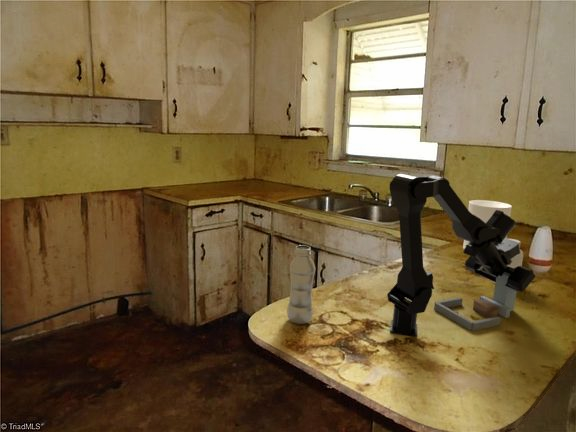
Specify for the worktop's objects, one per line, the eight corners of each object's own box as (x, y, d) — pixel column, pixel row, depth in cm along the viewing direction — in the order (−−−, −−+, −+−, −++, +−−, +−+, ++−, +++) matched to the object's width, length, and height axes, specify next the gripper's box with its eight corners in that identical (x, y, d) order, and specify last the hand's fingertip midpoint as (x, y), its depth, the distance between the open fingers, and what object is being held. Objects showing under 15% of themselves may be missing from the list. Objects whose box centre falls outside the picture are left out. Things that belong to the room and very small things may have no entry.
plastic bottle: (297, 313, 114) (300, 241, 110) (317, 321, 110) (321, 247, 106) (281, 321, 109) (284, 247, 105) (302, 330, 105) (306, 253, 101)
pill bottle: (496, 277, 147) (503, 235, 144) (521, 284, 142) (529, 241, 138) (487, 283, 142) (494, 239, 138) (513, 290, 136) (521, 245, 133)
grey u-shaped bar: (471, 331, 108) (472, 324, 108) (432, 308, 120) (433, 302, 120) (499, 324, 112) (500, 318, 112) (459, 303, 124) (460, 297, 124)
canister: (492, 245, 187) (499, 200, 182) (512, 256, 171) (520, 208, 167) (456, 244, 186) (462, 199, 182) (473, 255, 170) (480, 207, 166)
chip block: (485, 317, 116) (486, 307, 116) (472, 309, 121) (474, 300, 120) (497, 316, 117) (498, 306, 117) (484, 308, 122) (485, 299, 121)
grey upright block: (505, 317, 116) (511, 280, 114) (479, 304, 124) (484, 269, 122) (521, 314, 119) (527, 277, 116) (494, 301, 127) (499, 266, 124)
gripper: (537, 240, 107) (557, 277, 114) (477, 223, 123) (498, 255, 130) (510, 273, 106) (532, 308, 112) (453, 251, 122) (476, 283, 129)
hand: (509, 286), depth 121 cm, fingers open, 6 cm apart
